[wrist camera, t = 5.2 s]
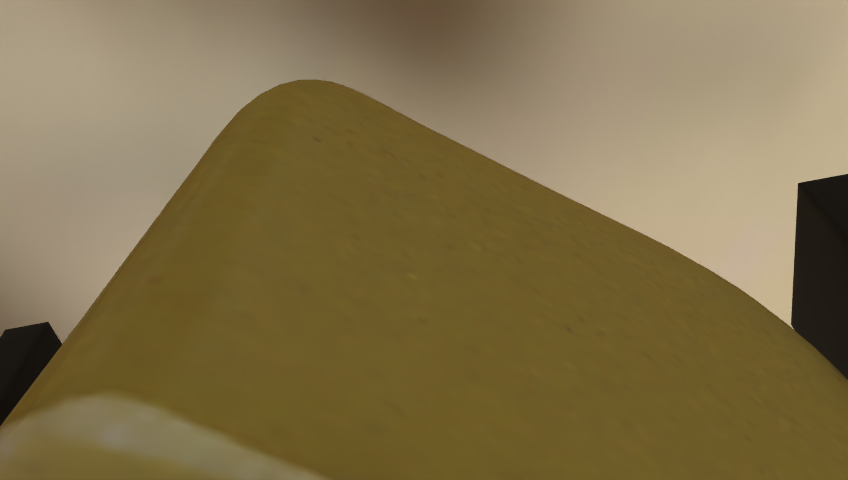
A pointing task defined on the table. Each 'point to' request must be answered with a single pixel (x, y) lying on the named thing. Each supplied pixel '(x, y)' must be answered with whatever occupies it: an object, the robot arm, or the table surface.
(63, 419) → the flower pot
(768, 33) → the table surface
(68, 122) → the table surface
